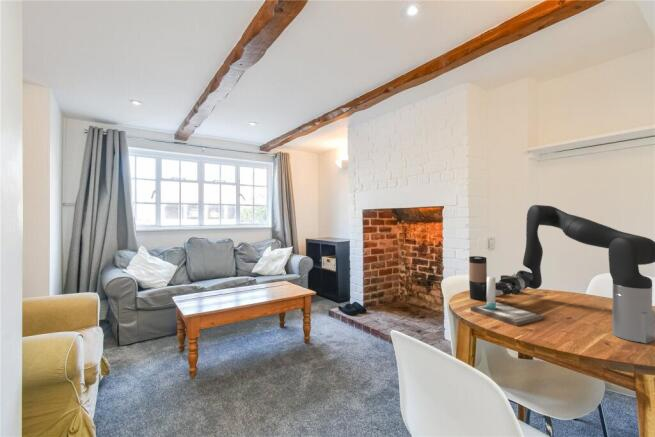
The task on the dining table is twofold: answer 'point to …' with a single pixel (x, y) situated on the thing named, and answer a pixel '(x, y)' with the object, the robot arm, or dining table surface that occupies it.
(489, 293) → the cylinder
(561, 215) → the robot arm
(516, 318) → the board
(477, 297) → the travel mug
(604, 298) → the dining table surface
